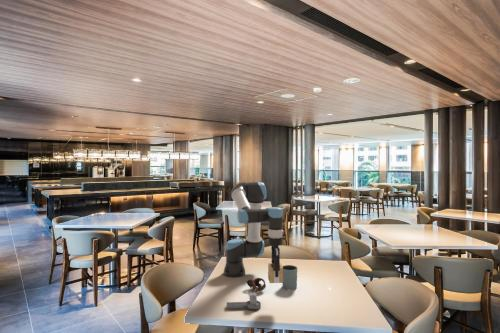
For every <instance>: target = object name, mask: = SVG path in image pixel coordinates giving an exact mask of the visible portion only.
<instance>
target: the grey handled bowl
mask: <svg viewBox="0 0 500 333" xmlns="http://www.w3.org/2000/svg"><path fill="white" fill-rule="evenodd" d="M257 297H258V295H257V293H255V292H249V300H247V301H233V302H230V301H229V302H226V310H227V311H228V310H229V311H232V310H235V311H236V310H248V311H251V312H256V311H260V309H261V308H262V303H261V301H259V300H257Z"/></svg>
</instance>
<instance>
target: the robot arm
mask: <svg viewBox="0 0 500 333" xmlns="http://www.w3.org/2000/svg"><path fill="white" fill-rule="evenodd" d="M230 196H231V199H232V200H233V201H234V203H235V205H236V207H237V209H238V211H237V213H236V214H237V218H236V219H237V222H238V223H239V224H247V225H248V226H247V236H246V237H245V240H243V239H242V238H233V239H230V240H228V241H227V242H226V244H225V252H226V253H225V265H224V269H223V275H224V276H225V277H228V278H229V277H230V278H239V277H242V276H244V275H246V268H245V265H244V260H243V259H249V258H250V259H251V258H261V257H262V256H263V255H264V254H265V242H264V239H263V238H262V236H261V224H262V223H263V224H264V223H266V224H267V223H268V230H267V233H268V234H267V236H268V238H267V239H268V240H267V241H268V242H267V243H268V245H270V247H271V248H270V249H271V260H270V262H271V263H274V270H273V271H274V283H273V284H280V283H279V271H280V263H281V262H280V259H281V258H280V254H281V249H280V246H282V245H283V244H284V242H283V238H284V237H283V233H284V232H285V231H284V230H283V215H284V213H283V208H282V207H280V206H279V207H278V206H271V207H266V208H262V204H263V203H264V200H266V199H267V197H268V196H267V187H266V184H265V183H264V182H260V181H252V182H251V181H249V182H247V181H246V182H239V183H237V184H235V185H234V186H233V187H232V189H231V191H230Z"/></svg>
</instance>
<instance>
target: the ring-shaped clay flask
mask: <svg viewBox="0 0 500 333" xmlns="http://www.w3.org/2000/svg"><path fill="white" fill-rule="evenodd" d="M260 282H263V285H262V283H260ZM246 284H247V285H248V287H249V288H250V289H254V291H253V293H256V294H257V293H259V292H261V291H264V290H265V289H266V287H267V286H266V285H267V284H266V281H265V280H264V278H261V277H255V278H254V279H251V278H250V279H249V278H248V279H247V280H246Z"/></svg>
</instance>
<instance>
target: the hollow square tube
mask: <svg viewBox="0 0 500 333" xmlns="http://www.w3.org/2000/svg"><path fill="white" fill-rule="evenodd" d="M267 264H268V265H267V278H268V283H269V284H275V283H274V271H273V270H274V263H272V262H271V263H267ZM283 266H284V265H283V264H282V263H281V262H280V271H279V283H278V284H283Z"/></svg>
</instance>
